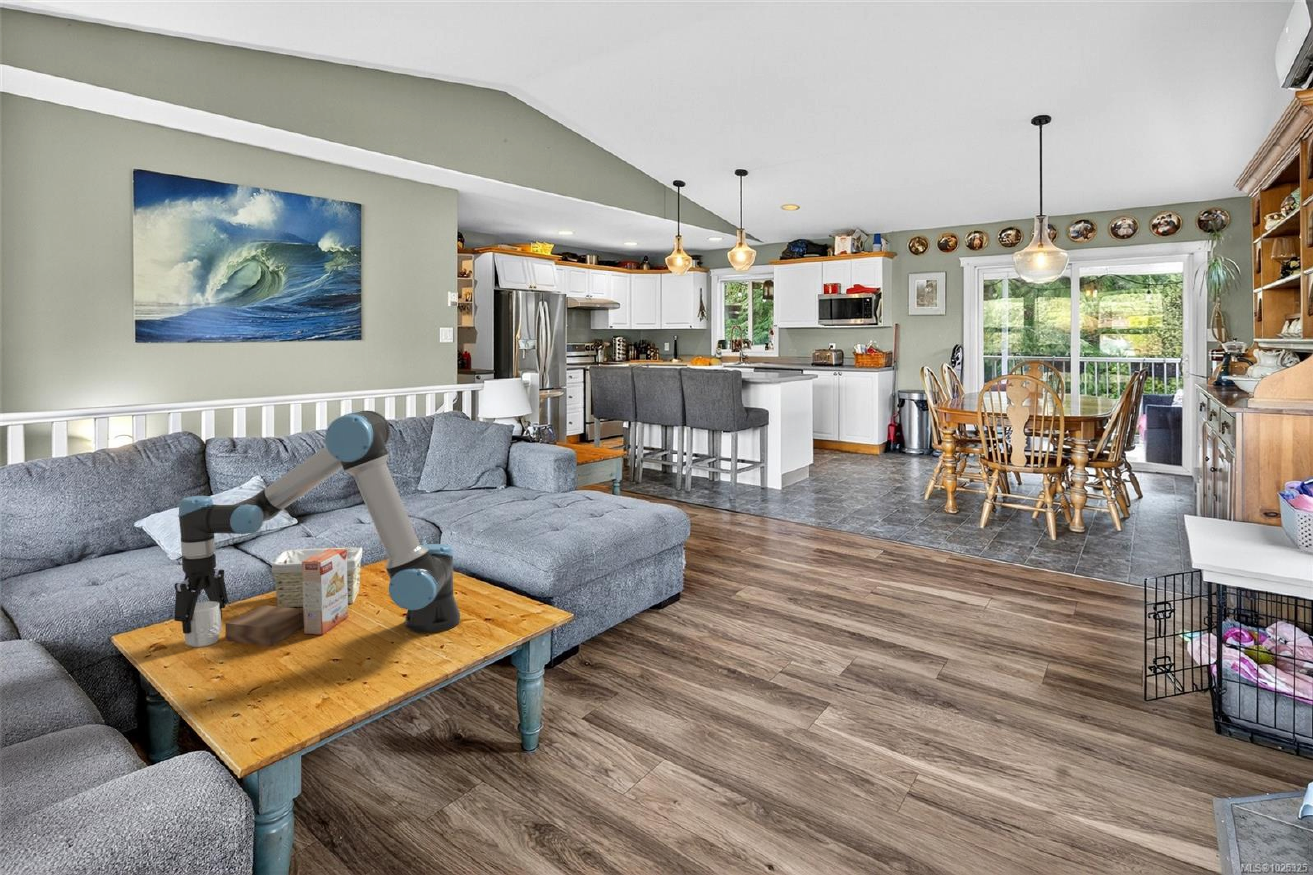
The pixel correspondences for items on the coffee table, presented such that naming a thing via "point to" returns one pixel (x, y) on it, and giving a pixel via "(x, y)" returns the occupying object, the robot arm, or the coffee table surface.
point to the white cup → (206, 623)
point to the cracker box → (324, 590)
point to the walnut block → (265, 625)
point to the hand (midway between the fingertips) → (204, 637)
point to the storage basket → (290, 575)
